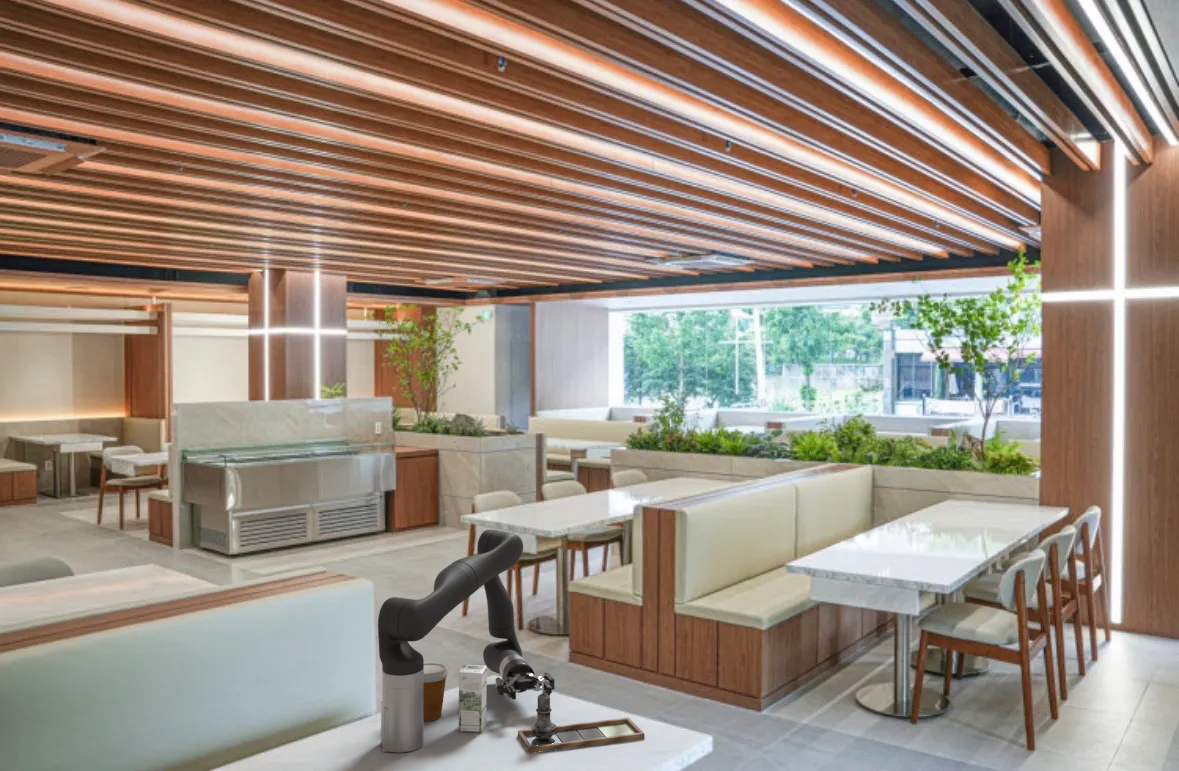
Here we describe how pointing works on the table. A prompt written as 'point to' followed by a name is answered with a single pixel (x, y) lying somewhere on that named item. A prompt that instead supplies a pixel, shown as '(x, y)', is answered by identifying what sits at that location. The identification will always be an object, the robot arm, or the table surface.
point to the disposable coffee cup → (433, 690)
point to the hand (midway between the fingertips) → (531, 693)
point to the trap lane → (587, 734)
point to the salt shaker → (543, 722)
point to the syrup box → (472, 698)
